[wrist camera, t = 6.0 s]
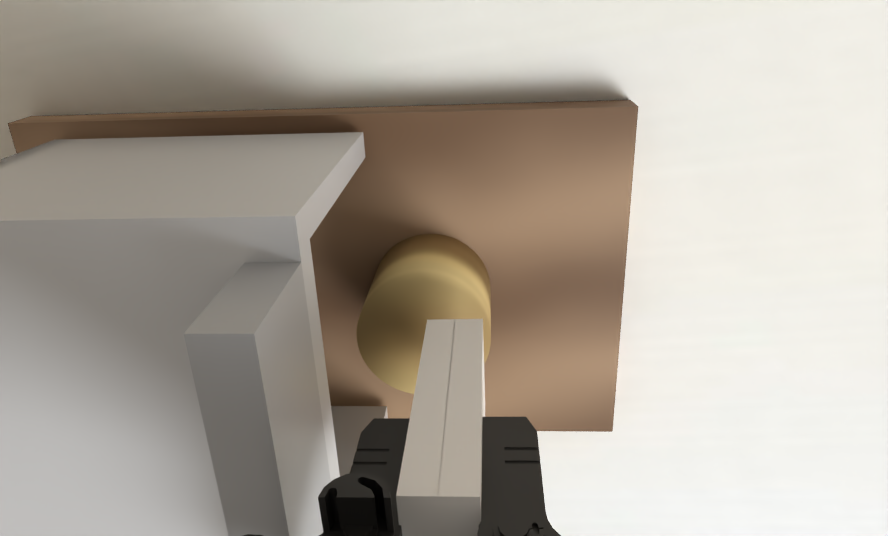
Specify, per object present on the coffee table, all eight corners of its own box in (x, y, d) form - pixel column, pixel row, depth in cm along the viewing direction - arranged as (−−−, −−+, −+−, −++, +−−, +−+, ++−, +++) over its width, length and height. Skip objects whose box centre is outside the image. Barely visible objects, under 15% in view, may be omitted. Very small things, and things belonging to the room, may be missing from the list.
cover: (54, 139, 21) (-333, 283, 11) (363, 132, 20) (244, 278, 10) (131, 422, 26) (-96, 706, 16) (388, 423, 25) (321, 723, 15)
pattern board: (31, 116, 22) (-78, 148, 18) (630, 99, 21) (666, 131, 17) (114, 409, 27) (44, 490, 23) (607, 412, 26) (630, 498, 22)
